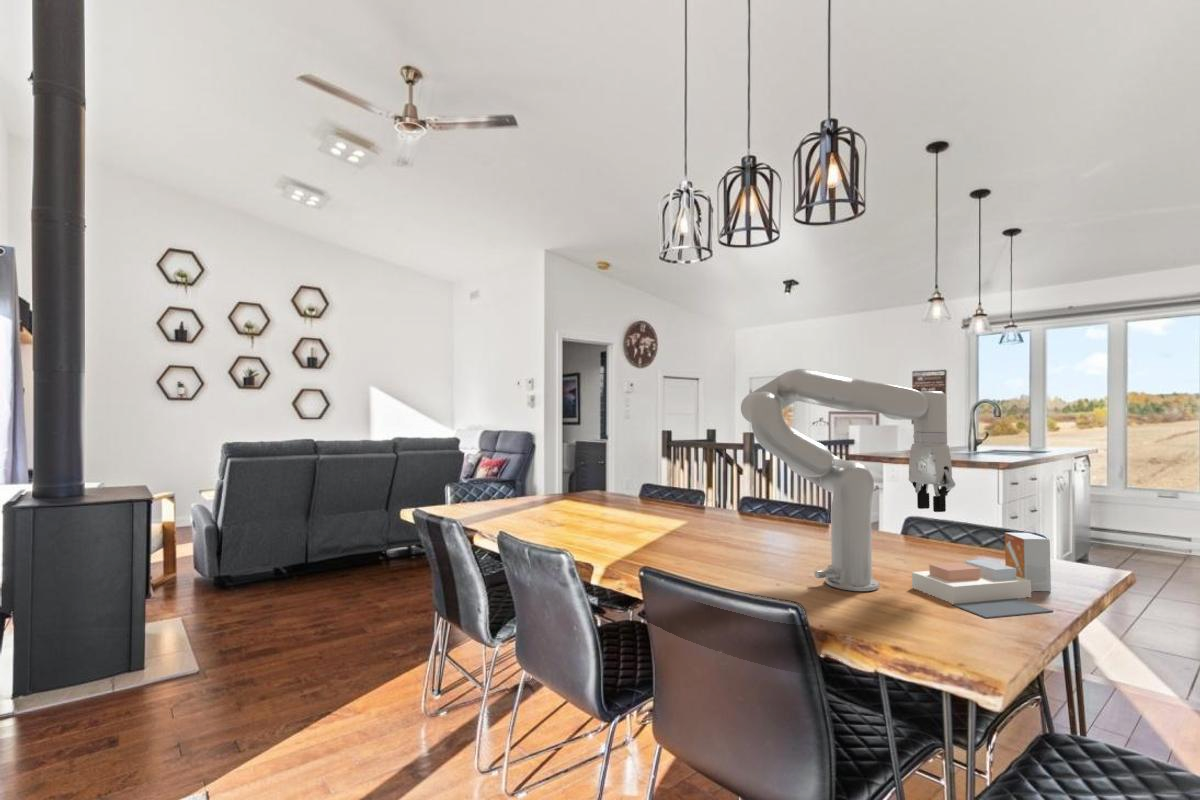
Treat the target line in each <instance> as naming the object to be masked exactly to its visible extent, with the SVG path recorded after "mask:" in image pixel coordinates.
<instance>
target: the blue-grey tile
mask: <svg viewBox="0 0 1200 800" xmlns="http://www.w3.org/2000/svg"><path fill="white" fill-rule="evenodd" d="M964 564H967V565H970V566H974V567H977V568H980V576H984V577H987V578H990V579H993V580H1007V579H1016V568H1013V567H1010V566H1006V565H1005V564H1002V563H999V562H994V561H991V560H987V559H984V558H983V559H973V560H964Z"/></svg>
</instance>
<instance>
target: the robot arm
mask: <svg viewBox="0 0 1200 800" xmlns="http://www.w3.org/2000/svg"><path fill="white" fill-rule="evenodd" d="M797 402H802V403H807V404H810V405H811V404H812V405H817V406H821V407H826V408H831V409H837V410H841V411H848V412H867V413H868V412H869V413H877V414H882V416H884V417H886V418H888V419H891V420H900V421H901V420H904V421H905V420H909V421H910V420H911V421H912V420H913V436H912V437H913V443H912V444H911V447H910V451H909V460H908V461H909V462H908V481H909V482H910V483H911V484H912V486H913V488H914V489H915V493H916V496H917V501H916V503H917V509H920V510H922V509H923V510H924V509H925V510H926V509H930V492H928V489H929V486H930V485H932V486H933V491H934V495H933V496H932V507H933V508H932V511H933V512H935V513H945V512H946V510H947V509H946V508H947V505H946V502H947V501H946V497H947V496H948V493H949V492H950V491H951V490H953V488H955V487H956V482H955V480H954V479H953V468H952V458H951V451H950V448H949V445H948V414H947V413H948V412H947V409H948V408H947V395H946V394H945V392H943V391H939V390H938V391H937V390H933V391H932V390H929V391H926V390H925V391H919V390H917V389H913V388H909V387H904V386H899V385H895V384H894V385H893V384H888V383H882V382H878V381H876V382H875V381H870V380H865V379H860V378H851V377H846V376H841V375H835V374H831V373H826V372H821V371H816V370H811V369H807V368H806V369H805V368H796V369H792V370H788V371H786V372H784V373H783V372H782V374H780V375H779V376H776V378H774V379H772V380H771V381H769V382H767V383H765V384H764V385H762V386H761V387H758V388H757V389H755V390H753V391H752V392H750V393H749V394H747V395H745V397H744V398H743V399H742V401H741V403H740V413H741V414H742V417H743V418H744V419H745V420H746V421H748V422H749V423H751V424H750V425H751V430H752V433H753V435H754V437H755V439H756V442H757V444H759V445H760V446H761V447H762V448H763V449H764V450H765V451H766V452H768V453H770V454H771V455H773V456H774V457H776V458H778V459H780V460H781V461H782V462H784V463H785V464H786V465H787V467H788V468H789V469H790V471H792V472H793V473H794V474H796V475H798V476H799V477H801V478H804V479H805V480H807V481H808V482H811V483H812V484H814V485H815V486H818V487H819V488H821V489H822V490H823V489H824V491H827V492H829V493H832V494H833V496H832V502H831V507H830V509H831V510H830V525H831V526H830V530H831V534H830V537H831V538H830V539H831V544H830V545H831V548H830V549H831V564H830V565H827V568H826V569H824V570H821V569H819V570H815V571H814V577H815V578H816V579H824V578H825V584H827V585H828V586H831V588H832V587H833V588H836V589H840V590H845V591H850V592H870V591H871V592H872V591H875V590H877V589H879V588H880V584H879V582H878V581H877V580H876V579H874V578H873V571H872V570H873V566H872V565H873V563H872V562H873V561H872V559H873V558H872V557H873V556H872V551H873V550H872V503H873V502H872V501H873V496H874V495H873V494H874V488H875V482H874V481H875V480H874V476H873V475H872V473H871V471H870V470H869V469H868V468H867V467H866V466H865V465H863V464H862V463H859V462H856V461H852V460H846V459H842V458H840V457H838V456H836V455H835V454H832V452H831V450H829V449H828V447H827V446H825V445H824V444H823V443H821V442H820V441H819V442H818V441H816V440H815V439H812V438H810V437H809V436H806V435H805V434H803V433H801V432H799V431H797V430H796V429H795V428H794V427H791V426H790V425H789V424H787V422H786V421H785V420H784V416H783V410H784V409H787V408H788V407H790V406H791V405H793V404H794V403H797Z"/></svg>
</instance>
